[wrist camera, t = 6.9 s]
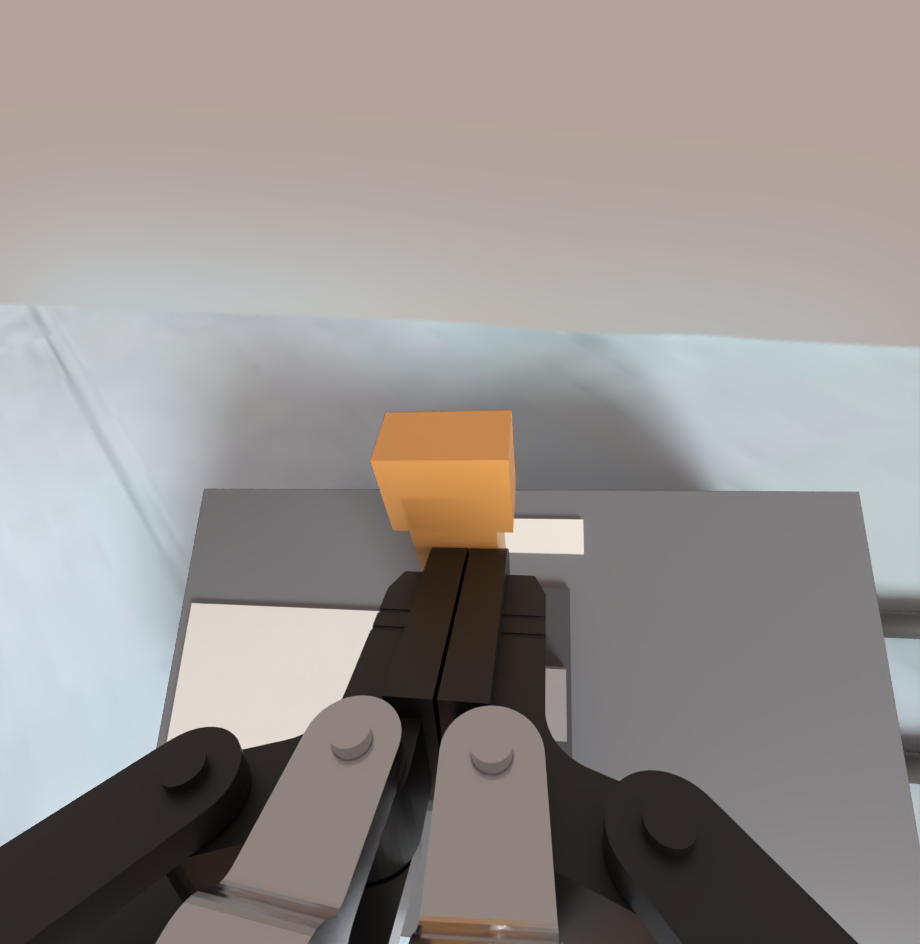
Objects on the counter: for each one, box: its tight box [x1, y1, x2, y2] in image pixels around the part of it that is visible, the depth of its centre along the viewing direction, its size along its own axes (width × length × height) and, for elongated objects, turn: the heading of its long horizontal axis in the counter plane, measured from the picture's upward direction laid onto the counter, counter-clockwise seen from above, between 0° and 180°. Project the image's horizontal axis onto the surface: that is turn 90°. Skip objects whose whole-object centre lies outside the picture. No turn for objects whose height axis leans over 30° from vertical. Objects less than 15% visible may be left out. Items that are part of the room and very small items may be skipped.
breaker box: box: [156, 489, 920, 944], centre depth 20 cm, size 39×14×11 cm, turn 88°
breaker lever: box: [370, 410, 516, 572], centre depth 13 cm, size 2×1×12 cm, turn 88°
